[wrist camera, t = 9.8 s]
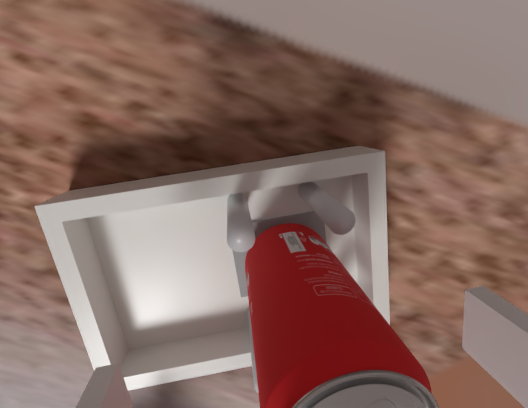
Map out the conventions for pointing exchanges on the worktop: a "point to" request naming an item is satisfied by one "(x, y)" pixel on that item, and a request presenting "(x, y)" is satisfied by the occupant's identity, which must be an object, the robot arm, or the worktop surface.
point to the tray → (205, 255)
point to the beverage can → (322, 331)
